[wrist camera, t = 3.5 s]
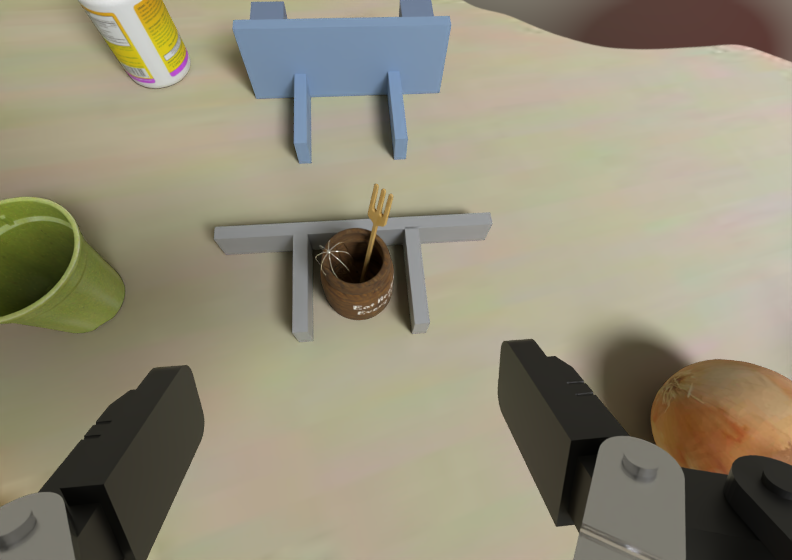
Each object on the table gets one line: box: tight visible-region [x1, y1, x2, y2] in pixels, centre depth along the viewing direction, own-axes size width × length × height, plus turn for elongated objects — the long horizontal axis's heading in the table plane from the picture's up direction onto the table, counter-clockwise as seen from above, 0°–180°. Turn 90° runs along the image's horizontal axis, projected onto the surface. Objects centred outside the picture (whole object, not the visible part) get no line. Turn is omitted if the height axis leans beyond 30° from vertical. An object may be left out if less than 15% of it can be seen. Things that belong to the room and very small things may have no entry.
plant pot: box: [0, 197, 125, 333], centre depth 32 cm, size 9×9×9 cm
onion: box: [651, 359, 792, 475], centre depth 29 cm, size 10×10×10 cm
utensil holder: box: [315, 184, 394, 320], centre depth 31 cm, size 6×6×12 cm
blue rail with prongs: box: [233, 0, 451, 164], centre depth 41 cm, size 12×20×8 cm, turn 95°
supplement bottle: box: [78, 0, 190, 88], centre depth 40 cm, size 7×7×13 cm
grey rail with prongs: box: [214, 212, 492, 342], centre depth 36 cm, size 10×24×3 cm, turn 95°
